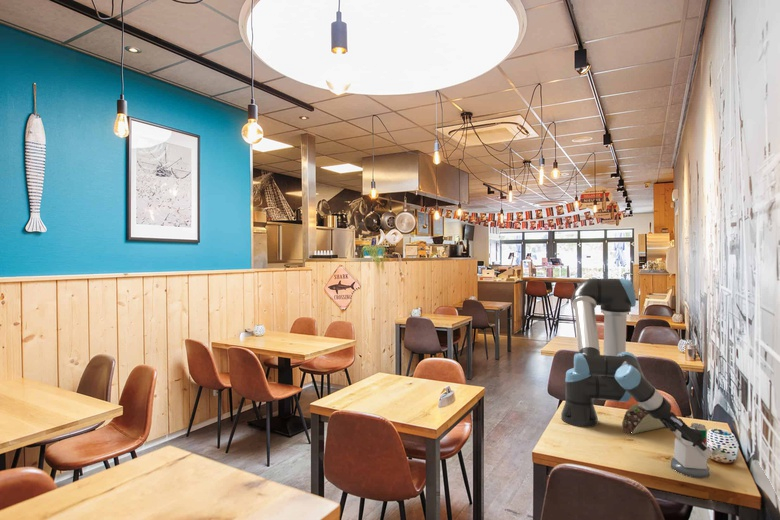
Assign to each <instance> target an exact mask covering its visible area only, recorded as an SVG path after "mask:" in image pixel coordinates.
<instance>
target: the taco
mask: <svg viewBox="0 0 780 520" xmlns="http://www.w3.org/2000/svg"><path fill="white" fill-rule="evenodd" d="M638 404H639V403H634V404H632V405H631V406H630V407H629V408H628V409H627V410H626V411H625V413H624V416H623V418H622V422H621V424H622V425H621V429H622V431H623V433H624V434H626V433H627V435H629V434H631V435H634V434H638V433H639V432H640V433H643V432H649V431H652V430H656V429H663V428H666V427H665V425H664V424H663V423H662V422H661V421H660V420H659V419H655V418H653V417H652V416H651V415H650V414H649V413H648V412H647V411H646V410H645V409H644V408H643V407H642V406H639V405H638ZM631 432H632V433H631ZM640 433H639V434H640Z"/></svg>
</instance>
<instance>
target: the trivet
mask: <svg viewBox="0 0 780 520" xmlns="http://www.w3.org/2000/svg"><path fill="white" fill-rule="evenodd" d="M670 468H671V469H672V470H673V469H674V470H676V471H677V472H676V471H675V472H676V473H678V472H679V474H680V473H682V474H681V475H683V474H684V475H683V476H686V475H687V476H686V477H689V476H691V478H696V479H705V478H708V477H710V473H711V472H710V467H709V465H707V469H695V468H685V467H684V466H683V465H682V464H680V463H679V462H678V461H677V460H676V459H675V458H674V457H673V458H671V459H670Z"/></svg>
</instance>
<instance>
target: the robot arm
mask: <svg viewBox="0 0 780 520" xmlns="http://www.w3.org/2000/svg"><path fill="white" fill-rule="evenodd" d="M635 291H636V290H635V288H634V285H633V282H632V281H631V280H630V279H626V278H625V279H624V278H594V277H593V278H588V279H586V280H583V281H582V282H581V283H579V284H578V285H577V286H576V288H575V289H574V291H573V293H572V295H571V306H572V308H573V309H574V313H575V325H576V326H575V327H576V337H577V348H578V350H577V351H578V353H574V355H573V367H572V368H570V369H567V371H566V372H565V379H564V381H565V402H564V406H563V408H562V410H561V420H562V421H563V422H565V423H566V424H570V425H573V426H577V427H584V428H585V427H586V428H587V427H594V426H597V425H598V424H599V418H598V415H597V412H596V407H595V406H594V400H599V401H609V402H610V401H611V402H617V403H618V402H623V403H624V402H625V403H627V402H628V401H630V399H631V397H632V398H633V399H634V400H635V401H636V403H637V404H638V405H639V406H642V407H643V408H644V409H645V410H646V411H647V412H648V413H649V414H650V415H651V416H652V417H653V418H655V419H659V420H660V421H661V422H662V423H663V424H664V425H665V427H664V428H666V429H669V430H670V432H672V433H673V434H674V435H675V436H676V437H677V438H678V439H681V433H682V434H683V435H684V436H685V437H686V438H688V439H689V440H690V441H691V442H692V443H693V445H692V446H694V447H696V448H697V449H698V450H699V451H700V452H701V453H702V454H703V455H704V456H705V457H706V458H707V459H709V458H710V457H711V456H712V455H713V453H714V452H713V451H712V450H711V449H710V448H709V447H708V446H706V445H705V444H704V443H703V441H704V440H703V439H701V438H700V437H699V436H698V435H697V434H696V433H695V432H694V431H693V430H692V429H691V428H690V426H688V425H687V423H685V422H684V420H683V419H682V418H680V417H677V415H676V414H675V413H674V412H673V411H671V410H672V405H671V403H670V402H669V401H668V400H667V399H666V398H665V397H664V396H663V395H662V393H661V392H659V391H658V390H657V388H655V386H653V385H652V384H651V382H649V380H647V378H646V377H645V375H644V373H643V370H642V367H641V365H640V362H639V359H638V358H637V356H635V355H634V354H633V353H632V352H629V351H626V350H627V349H626V348H627V347H626V345H627V344H626V343H627V341H626V340H627V315H628V314H629V313H630V312H631V311H632V308H634V307H636V304H637V299H636V292H635ZM597 306H600V310H601V312H603V314H604V315H603V316H604V317H603V318H604V319H603V354H601V349H600V343H599V342H600V341H599V332H598V326H597V320H596V307H597Z"/></svg>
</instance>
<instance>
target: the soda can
mask: <svg viewBox="0 0 780 520" xmlns="http://www.w3.org/2000/svg"><path fill="white" fill-rule="evenodd" d="M689 427H691V428H695V429H697V430H699V431H701V432H702V433H703V438H702V439H703V440H704V441H703V443H704V444H705V445H706V446H707V445H708V431H707V430H708V429H707V428H706V425H704V424H702V423H697V422H692V423H691V424H690V426H689ZM707 447H708V446H707Z"/></svg>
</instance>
